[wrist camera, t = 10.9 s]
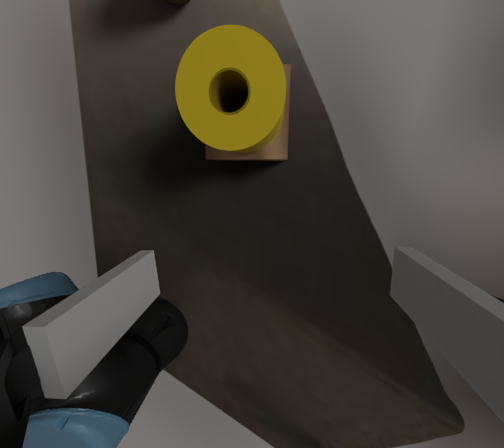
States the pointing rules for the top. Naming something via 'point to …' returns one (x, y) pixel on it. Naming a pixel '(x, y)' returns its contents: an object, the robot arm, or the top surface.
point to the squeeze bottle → (177, 1)
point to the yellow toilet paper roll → (231, 89)
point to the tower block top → (272, 150)
